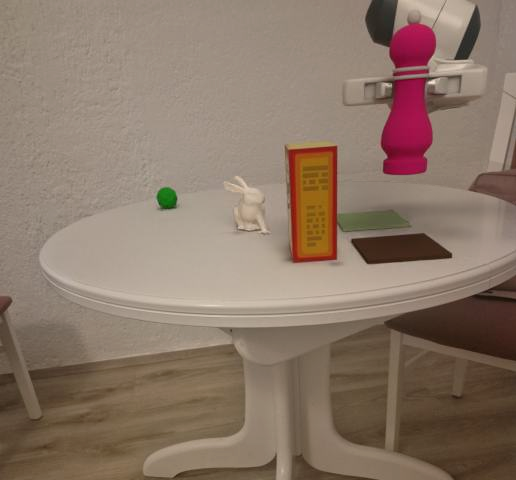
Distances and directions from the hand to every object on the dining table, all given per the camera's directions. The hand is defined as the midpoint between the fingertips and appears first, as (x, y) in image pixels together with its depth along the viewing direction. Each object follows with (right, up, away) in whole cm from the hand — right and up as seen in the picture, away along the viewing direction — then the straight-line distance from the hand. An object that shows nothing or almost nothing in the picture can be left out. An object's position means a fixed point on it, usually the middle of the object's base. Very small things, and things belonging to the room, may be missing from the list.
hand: (409, 88), depth 66 cm
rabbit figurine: (-23, -13, +27) cm, 38 cm away
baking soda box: (-12, -21, +10) cm, 26 cm away
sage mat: (0, -12, +25) cm, 28 cm away
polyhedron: (-43, -2, +51) cm, 67 cm away
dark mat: (+1, -20, +8) cm, 22 cm away
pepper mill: (+1, -9, +6) cm, 11 cm away
